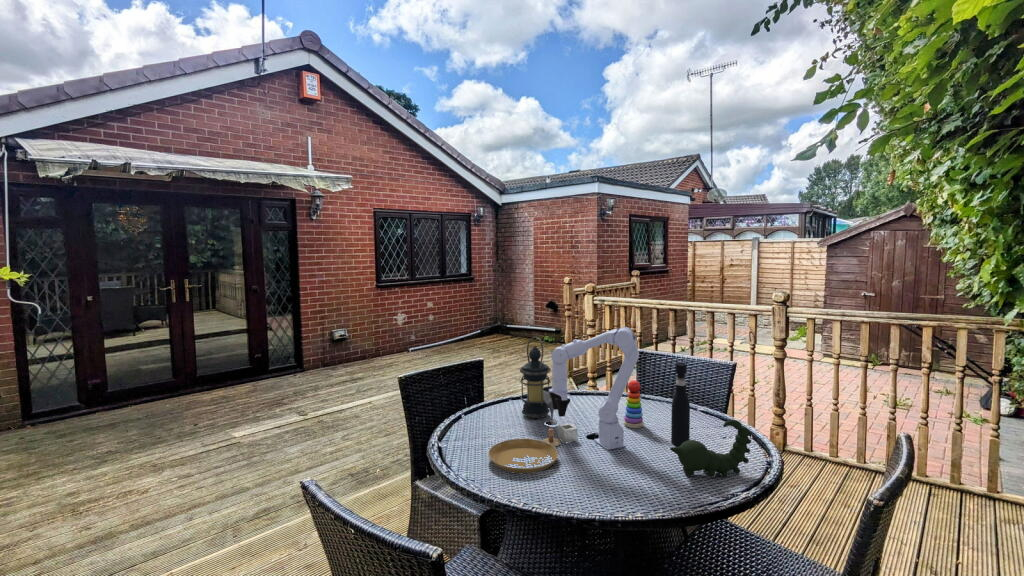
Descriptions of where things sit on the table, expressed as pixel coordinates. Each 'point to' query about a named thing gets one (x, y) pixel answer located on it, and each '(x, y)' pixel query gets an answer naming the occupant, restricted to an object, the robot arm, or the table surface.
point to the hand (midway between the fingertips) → (559, 412)
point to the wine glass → (548, 403)
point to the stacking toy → (633, 407)
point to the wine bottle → (680, 409)
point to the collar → (567, 433)
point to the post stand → (552, 439)
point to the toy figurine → (714, 454)
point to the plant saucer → (521, 454)
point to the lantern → (535, 383)
